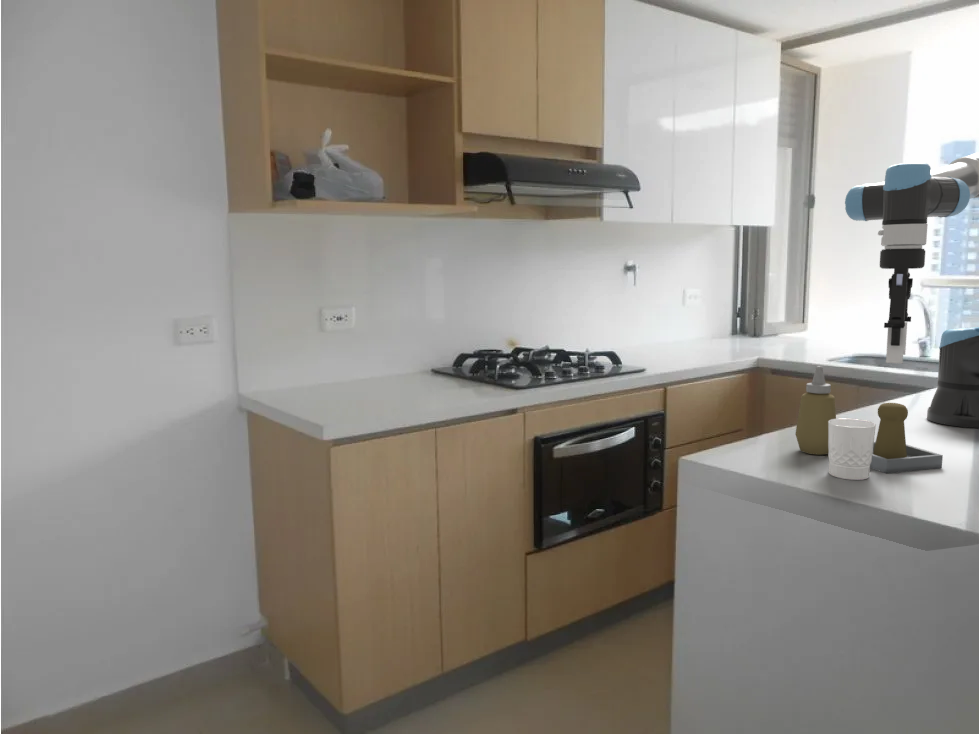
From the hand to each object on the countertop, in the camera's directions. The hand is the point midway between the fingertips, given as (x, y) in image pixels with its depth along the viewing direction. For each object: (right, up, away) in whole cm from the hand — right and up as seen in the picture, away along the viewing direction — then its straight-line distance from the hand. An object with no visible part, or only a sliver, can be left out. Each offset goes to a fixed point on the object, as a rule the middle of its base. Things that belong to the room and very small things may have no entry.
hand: (895, 358), depth 145 cm
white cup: (-12, -22, -5) cm, 25 cm away
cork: (0, -20, +3) cm, 20 cm away
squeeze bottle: (-11, -20, +11) cm, 25 cm away
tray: (0, -20, +3) cm, 21 cm away
